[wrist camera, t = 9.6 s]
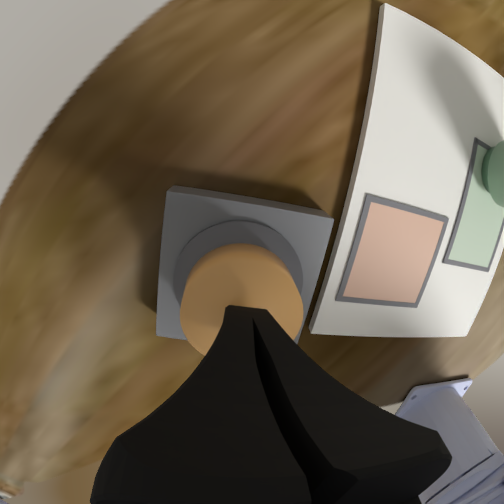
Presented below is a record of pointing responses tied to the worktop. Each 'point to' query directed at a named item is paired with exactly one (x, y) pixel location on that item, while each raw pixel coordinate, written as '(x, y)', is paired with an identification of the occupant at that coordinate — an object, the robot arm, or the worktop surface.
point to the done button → (237, 291)
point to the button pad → (230, 232)
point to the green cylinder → (494, 173)
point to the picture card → (417, 192)
